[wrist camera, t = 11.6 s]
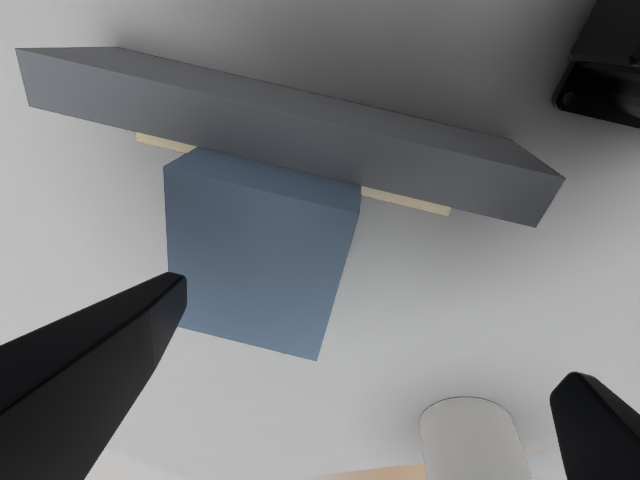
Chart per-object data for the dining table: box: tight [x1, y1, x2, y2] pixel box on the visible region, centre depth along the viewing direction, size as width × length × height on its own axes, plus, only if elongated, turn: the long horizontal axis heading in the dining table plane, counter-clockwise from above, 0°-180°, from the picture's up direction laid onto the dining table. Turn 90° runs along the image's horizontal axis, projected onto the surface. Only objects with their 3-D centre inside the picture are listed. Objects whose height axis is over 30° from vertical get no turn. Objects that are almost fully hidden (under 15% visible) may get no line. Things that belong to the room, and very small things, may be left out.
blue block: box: [163, 147, 362, 361], centre depth 16 cm, size 6×8×8 cm
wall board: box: [15, 47, 566, 228], centre depth 15 cm, size 20×4×6 cm, turn 79°
